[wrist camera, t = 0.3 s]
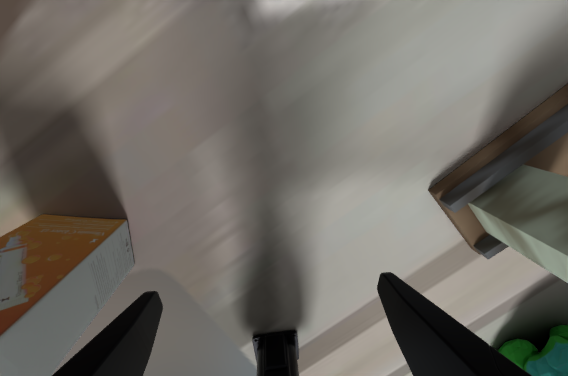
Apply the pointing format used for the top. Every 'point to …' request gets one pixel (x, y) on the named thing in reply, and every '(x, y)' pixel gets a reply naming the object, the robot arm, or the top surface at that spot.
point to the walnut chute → (505, 167)
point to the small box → (56, 286)
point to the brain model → (541, 354)
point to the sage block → (529, 216)
